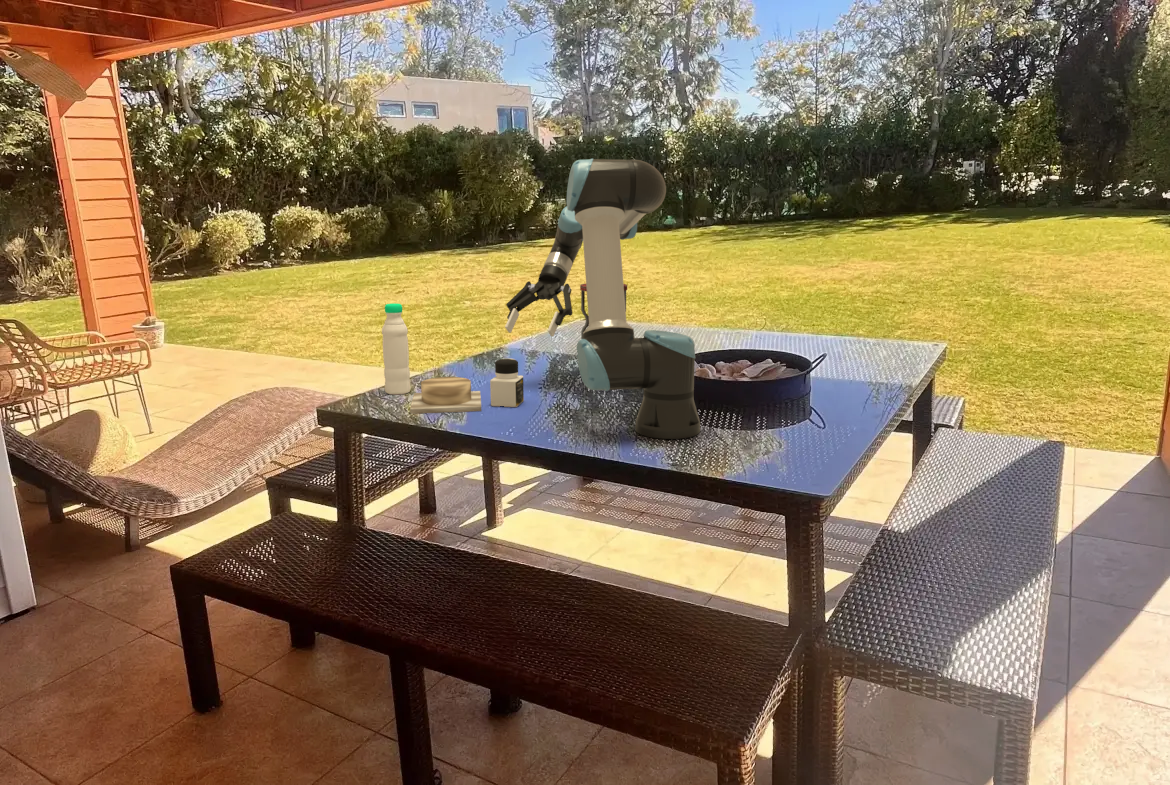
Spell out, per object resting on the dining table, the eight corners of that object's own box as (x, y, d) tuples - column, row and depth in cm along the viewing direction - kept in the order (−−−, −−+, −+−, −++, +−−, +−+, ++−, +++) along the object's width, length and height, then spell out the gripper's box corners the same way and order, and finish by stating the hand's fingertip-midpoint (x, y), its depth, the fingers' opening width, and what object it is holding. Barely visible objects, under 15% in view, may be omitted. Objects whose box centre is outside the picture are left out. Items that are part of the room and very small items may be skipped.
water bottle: (415, 392, 234) (411, 303, 228) (394, 396, 229) (389, 306, 223) (401, 388, 238) (396, 301, 233) (380, 392, 233) (375, 304, 228)
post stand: (481, 411, 213) (480, 388, 211) (410, 413, 210) (408, 390, 209) (480, 395, 230) (479, 374, 229) (414, 397, 228) (413, 376, 226)
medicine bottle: (516, 407, 216) (515, 362, 213) (490, 406, 218) (489, 361, 215) (524, 401, 223) (523, 357, 220) (498, 400, 224) (497, 356, 222)
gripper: (598, 282, 234) (573, 343, 224) (522, 278, 245) (496, 336, 235) (589, 265, 228) (564, 326, 218) (513, 261, 239) (485, 320, 230)
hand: (528, 331), depth 227 cm, fingers open, 13 cm apart
